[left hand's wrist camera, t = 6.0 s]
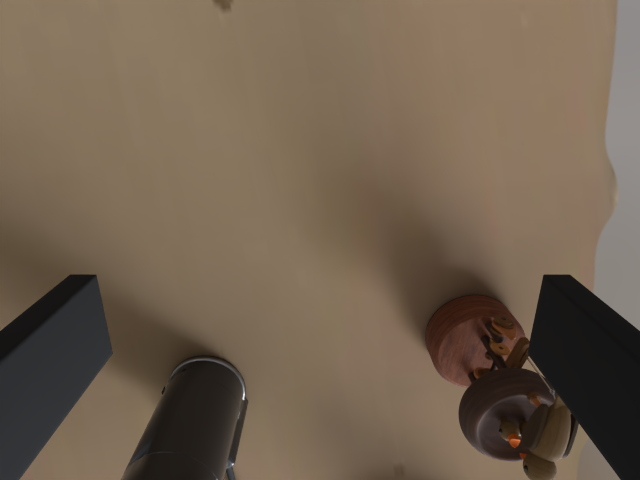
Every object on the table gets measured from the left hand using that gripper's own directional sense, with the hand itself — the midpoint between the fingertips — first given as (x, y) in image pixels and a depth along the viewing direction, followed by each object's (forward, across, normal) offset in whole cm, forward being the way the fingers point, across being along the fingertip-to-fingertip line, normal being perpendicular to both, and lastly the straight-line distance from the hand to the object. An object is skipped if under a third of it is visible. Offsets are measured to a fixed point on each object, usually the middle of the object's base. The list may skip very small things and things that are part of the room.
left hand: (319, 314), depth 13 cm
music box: (+32, +18, -23) cm, 43 cm away
